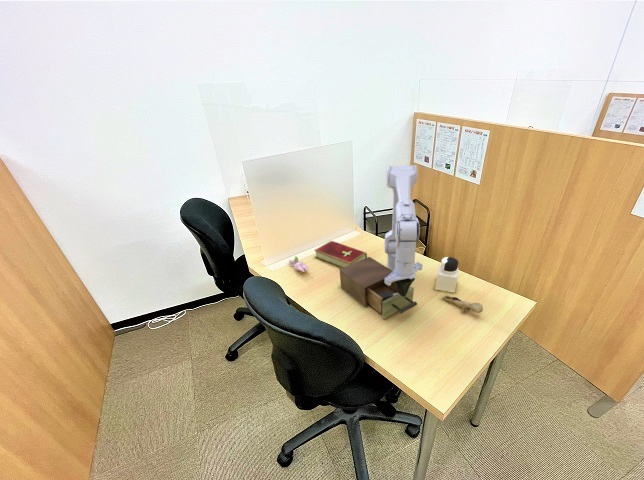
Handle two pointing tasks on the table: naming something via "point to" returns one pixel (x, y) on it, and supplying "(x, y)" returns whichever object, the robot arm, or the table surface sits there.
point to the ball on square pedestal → (447, 275)
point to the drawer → (389, 299)
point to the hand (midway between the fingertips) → (402, 294)
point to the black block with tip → (386, 295)
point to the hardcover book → (339, 254)
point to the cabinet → (362, 278)
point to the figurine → (465, 304)
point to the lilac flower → (298, 265)
